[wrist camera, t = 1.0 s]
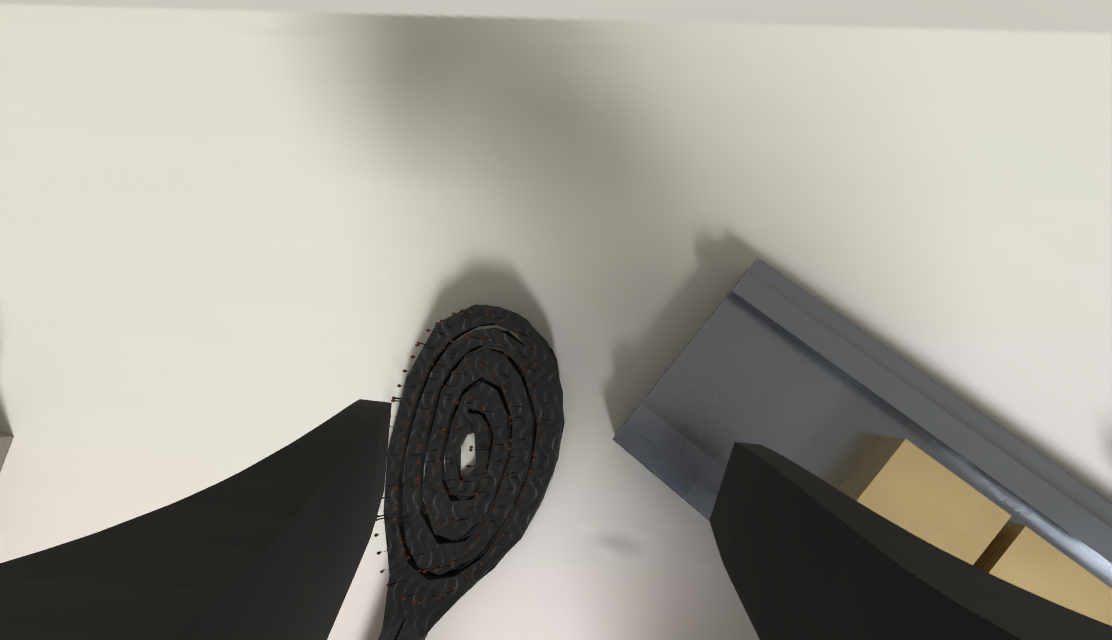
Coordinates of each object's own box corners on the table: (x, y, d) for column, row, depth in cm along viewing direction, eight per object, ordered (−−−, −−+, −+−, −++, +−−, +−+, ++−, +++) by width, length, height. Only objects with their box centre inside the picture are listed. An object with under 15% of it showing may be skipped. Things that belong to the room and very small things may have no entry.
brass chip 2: (1091, 589, 19) (1143, 611, 17) (1023, 676, 19) (1067, 708, 17) (987, 513, 20) (1025, 526, 18) (921, 595, 19) (953, 618, 18)
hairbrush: (232, 841, 22) (409, 279, 23) (291, 774, 26) (441, 292, 27) (406, 940, 20) (586, 331, 21) (442, 854, 24) (595, 337, 25)
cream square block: (974, 503, 20) (1011, 516, 18) (909, 586, 20) (939, 607, 18) (880, 434, 21) (905, 438, 19) (818, 513, 20) (836, 525, 19)
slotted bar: (1145, 547, 20) (1224, 571, 18) (987, 748, 20) (1042, 804, 17) (748, 269, 24) (761, 253, 22) (614, 435, 24) (611, 440, 21)
